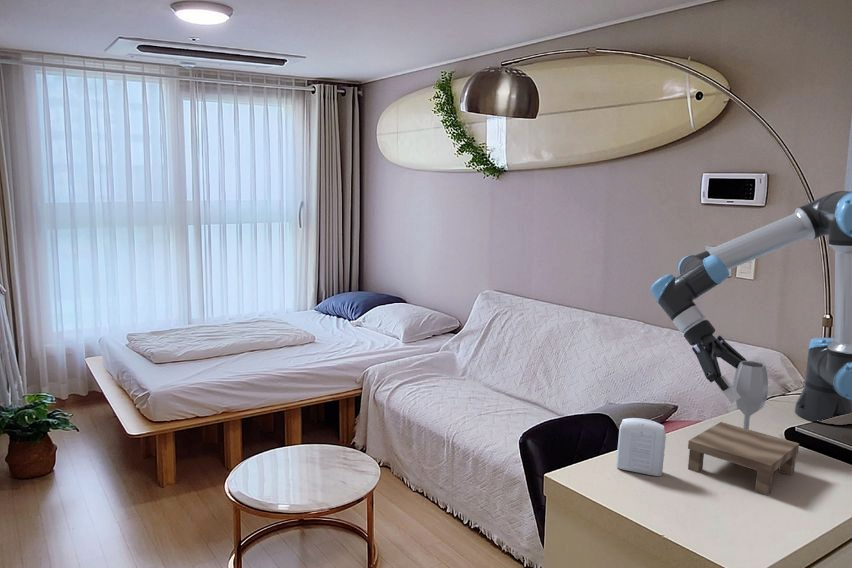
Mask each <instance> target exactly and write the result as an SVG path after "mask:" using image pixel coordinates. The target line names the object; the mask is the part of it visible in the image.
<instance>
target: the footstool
mask: <svg viewBox="0 0 852 568" xmlns="http://www.w3.org/2000/svg"><path fill="white" fill-rule="evenodd" d="M799 448H800V443H798V442H795V441H791V440H788V439H785V438H781V437H777V436H773V435H769V434H767V433H763V432H758V431H755V430H752V429H749V430H748V429H745V428H743V427H741V426H736V425H733V424H729V423H727V422H723V421H720V422H718V423H716V424H715V425H713V426H711V427H709V428H708V429H706V430H704V431H703V432H701V433H699V434H698V435H696V436H694V437H692V438H690V439H689V440H688V443H687V449H688V450H689V452H688V453H689V454H688V464H687V469H688V470H690V471H692V472H695V473H699V472H701V471H702V470H703V469H704V456H705V455H706V456H710V457H713V458H717V459H719V460H724V461H726V462H730V463H732V464H735V465H739V466H742V467H745V468H748V469H751V470H754V471H756V480H755V486H754V487H755V489H754V492H756V493H758V494H762V495H764V496H768V495H769V494H770V493H771V491H772V483H773V476H774V475H773V474H774V473H773V472H775V471H776V470H778V469H779V473H782V474H787V475H789V476H791V475H792V474H793V473H795V466H796V460H797V454H798V452H799Z"/></svg>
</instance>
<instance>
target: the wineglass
mask: <svg viewBox="0 0 852 568" xmlns="http://www.w3.org/2000/svg"><path fill="white" fill-rule="evenodd" d="M767 371H768V370H767V367H766V365H765V364H764V363H762V362H759V361H753V360H747V361H742V362H740V363H739V365H738V368H737V369H735V374H734V377H733V382H732V386H733V387H734V389H735V390H736V391H737V392H738V394H739V395H740V396H741V398H739V399H738V400H736V401H734V402H733V404H734V406H736V407H737V408H738V410H739V411H740V412H741V413H742V414H743V415H744V416H743V424H742V428H745V429H748V430H750V420H751V416H753V415H754V414H755V413H757V412H759V411H760V410H763V409H764V407H765V404H766V402H767V399H768V393H769V380H768V379H769V378H768V372H767Z"/></svg>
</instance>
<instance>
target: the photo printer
mask: <svg viewBox="0 0 852 568" xmlns="http://www.w3.org/2000/svg"><path fill="white" fill-rule="evenodd" d="M666 434H667V433H666V430H665V426H664V425H663V424H661V423H659V422H658V421H654V420H651V419H646V418H640V417H639V418H638V417H629V418H623V419H622V421H621V423H620V425H619V431H618V440H617V441H618V442H617V451H616V453H617V454H616V461H615V462H616V464H615V465H616V466H615V467H616V468H617V469H620V470H623V471H629V472H633V473H634V472H635V473H638V474H644V475H650V476H654V477H655V476H656V477H660V476H662V475H663V469H664V468H663V467H664V462H665V461H664V459H665V448H666V438H667V435H666Z"/></svg>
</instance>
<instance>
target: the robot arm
mask: <svg viewBox="0 0 852 568" xmlns="http://www.w3.org/2000/svg"><path fill="white" fill-rule="evenodd" d="M824 236H828V246H829V247H830V248H832V250H834V252H835V253H834V254H835V256H834V257H835V258H834V331H833V333H834V338H833V337H814V338H811V339H810V341H809V344H808V349H807V350H808V353H807V359H806V360H807V361H806V372H805V380H804V387H803V389H802V390H801V393H800V394H799V397H798V398H797V401H796V403H795V406H794V413H795V414H796V415H797V416H798V417H801V418H802V419H805V420H808V421H811V422H813V421H817V420H822V419H826V418H830V417H835V416H839V415H844V414H849V413H852V191H848V190H837V191H834V192H830V193H828V194H826V195H824V196H821V197H819V198H817V199H814V200H813V201H811V202H808V203H806V204H804V205H802V206H800V207H797V208H796V209H795V211H794V213H792V214H790V215H788V216H786V217H782V218H780V219H779V220H778V219H777V220H776V221H773V222H770V223H768V224H767V225H766V224H765V225H763V226H762V227H759V228H757V229H755V230H752V231H750V232H747V233H745V234H743V235H740V236H737V237H735V238H733V239H730V240H729V241H726V242H723V243H721V244H718V245H715V246H714V247H712V248H710V249H706V250H705V251H702V252H700V253H697V254H693V255H691V254H689V255H687V256H684V257H683V258H682V259H681V260H680V261H679V263H678V266H677V268H678V269H677V270H678V273H679V276H677V277H676V276H674V275H673V274H671V273H668V274H665V275H664V276H661V277H659V278H658V279H657V280H656V281H655V282H654V283H653V284H652V285H651V286H650V293H651V295H652V296H653V297H654V299H655V300H656V302H657V303H658V304H659V306H660V307H661V308H662V310H663V311H664V312H665V313H666V315H667V316H668V317H669V319H670V321H672V322H673V324H674V325H675V326H674V327H675V328H676V329H678V330H679V332H680V334H682V333H683V337H684V338H685V340H686V342H687V343H688V344H689V345H690V346H692V347H691V351H693V353H694V354H695V356H696V358H697V361H698V362H699V365H700V367H701V369H702V371H703V374H704V377H705V379H707V381H709V383H711V384H712V383H713V382H715V384H716V386H717V387H719V389H720V390H721V392H722V393H723V394H724V396H725V398H726V399H727V400H728V401H729V402H730V404H734V401H736V400H738V399H739V398H741V396H740V395H739V394H738V392H737V391H736V390H735V389H734V387H733V384H732V383H731V382H730V381H729V380H728V378H727V377H726V376H725V374H722V371H721V367H720V364H719V362H718V358H720V359H721V360H723V361H724V362H726V363H727V364H729V365H730V366H731V367H733V368H734V369H735V370H737V368H738V365H739V363H740V362H742V361H748V360H747V359H746V358H745V357H744V356H743V355H741V354H740V352H739V351H738V350H736V349H735V348H734V347H733V346H731V345H730V344H729V343H728V342H727V341H726V340H725V339H724V338H723V336H722V335H718V336H714V335H713V334H714V333H715V332H716V328H715V327H714V326H713V324H712V323H711V322H710V321H709V320H708V319H706V315H705V314H704V312H702V310H701V309H700V308H699V306H698V305H697V304H696V303H695V302H694V301H695V300H696V299H699V298H700V297H701V296H702V295H704V294H705V293H707V292H709V291H710V290H712V289H714V288H715V287H717V286H718V285H721V284H722V282H725V281H726V279H728V278H729V276H730V271H729V270H732V269H735V268H737V267H739V266H742V265H745V264H747V263H749V262H751V261H754V260H756V259H759V258H762V257H763V256H766V255H769V254H771V253H774V252H775V251H778V250H781V249H783V248H786V247H788V246H790V245H793V244H795V243H798V242H801V241H802V240H805V239H807V240H811V241H812V240H815V239H818V238H822V237H824Z"/></svg>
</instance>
